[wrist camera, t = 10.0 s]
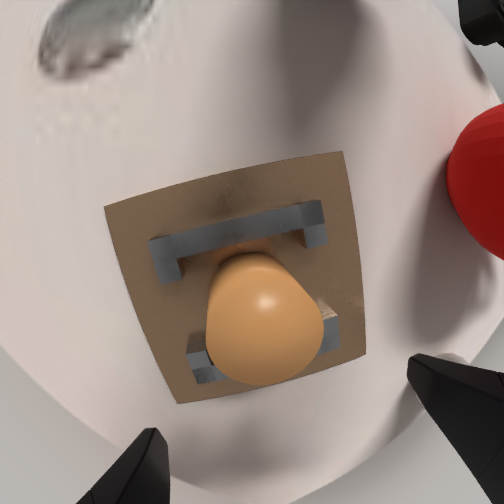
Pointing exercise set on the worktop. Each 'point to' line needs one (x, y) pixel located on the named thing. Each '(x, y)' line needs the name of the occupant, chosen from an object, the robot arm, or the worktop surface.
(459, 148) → the ceramic cup
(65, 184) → the worktop surface
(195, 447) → the worktop surface
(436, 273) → the worktop surface
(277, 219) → the socket
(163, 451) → the robot arm
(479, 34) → the film camera
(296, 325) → the cap
